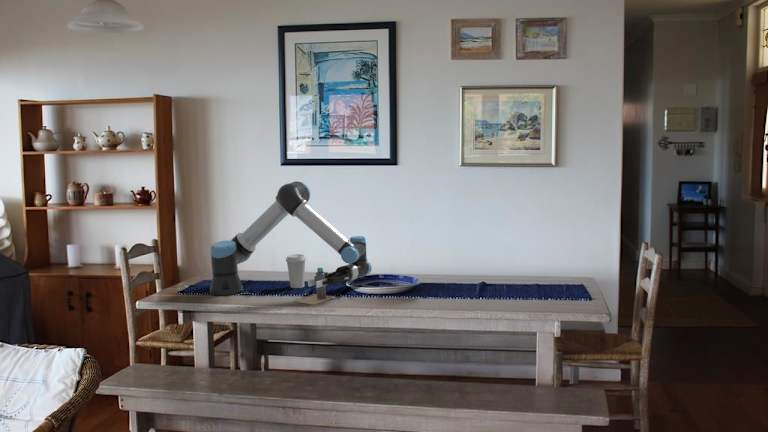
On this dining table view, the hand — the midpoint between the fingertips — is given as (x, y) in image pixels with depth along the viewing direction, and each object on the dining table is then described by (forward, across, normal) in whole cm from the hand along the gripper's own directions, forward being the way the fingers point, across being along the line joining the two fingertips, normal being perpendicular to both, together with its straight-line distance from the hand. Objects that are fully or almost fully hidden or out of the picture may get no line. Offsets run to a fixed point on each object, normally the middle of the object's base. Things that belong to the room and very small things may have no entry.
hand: (312, 284), depth 292 cm
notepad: (-4, -3, +8) cm, 9 cm away
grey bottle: (-5, 0, +7) cm, 9 cm away
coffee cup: (-19, -27, +8) cm, 34 cm away
